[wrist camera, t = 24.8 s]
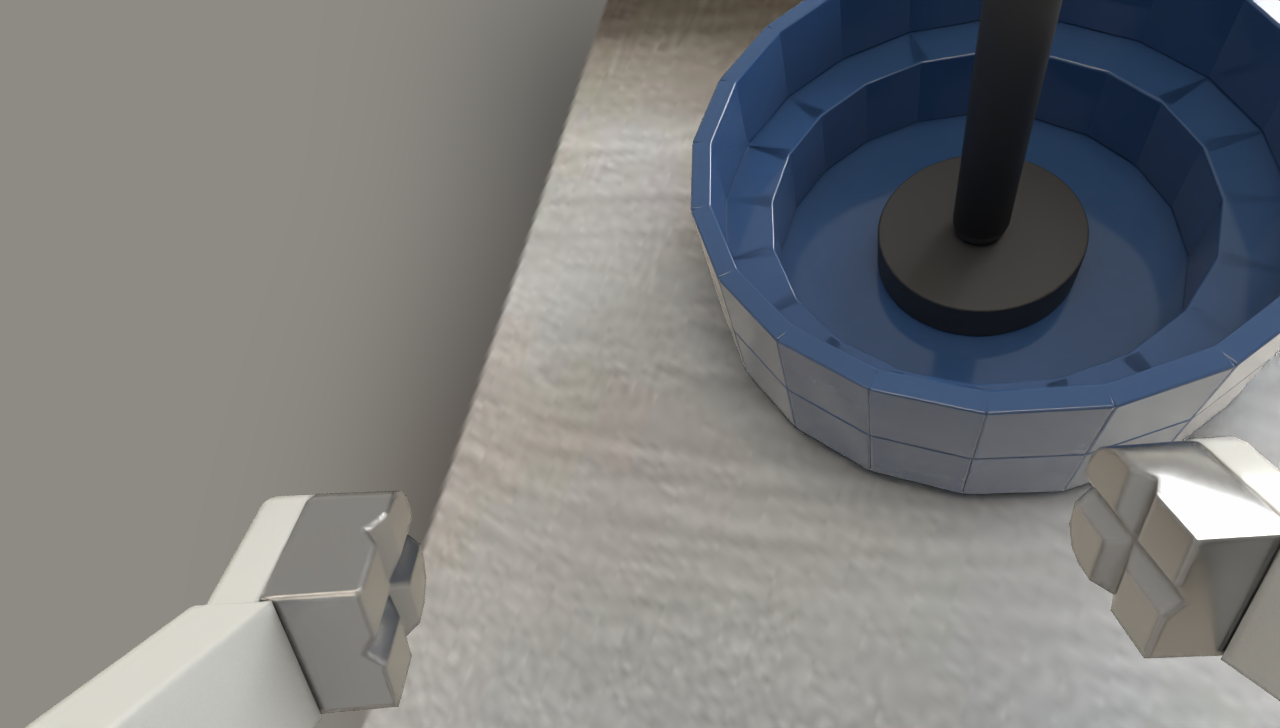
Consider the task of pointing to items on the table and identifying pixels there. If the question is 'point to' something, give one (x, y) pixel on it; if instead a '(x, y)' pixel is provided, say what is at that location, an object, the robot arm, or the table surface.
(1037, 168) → the peg stand
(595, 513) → the table surface
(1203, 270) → the mixing bowl
